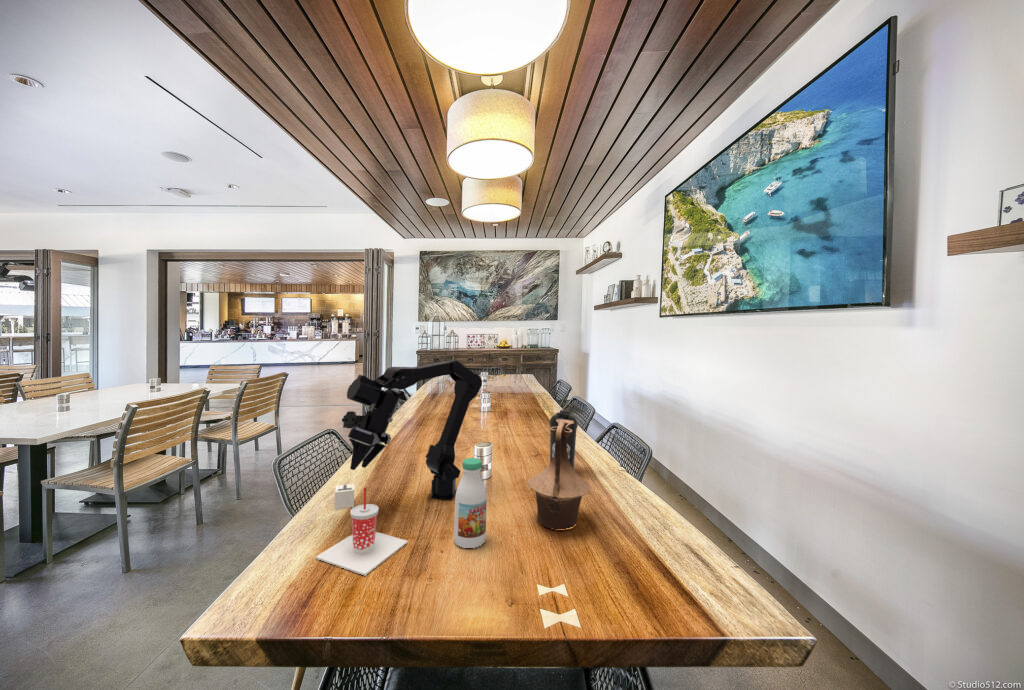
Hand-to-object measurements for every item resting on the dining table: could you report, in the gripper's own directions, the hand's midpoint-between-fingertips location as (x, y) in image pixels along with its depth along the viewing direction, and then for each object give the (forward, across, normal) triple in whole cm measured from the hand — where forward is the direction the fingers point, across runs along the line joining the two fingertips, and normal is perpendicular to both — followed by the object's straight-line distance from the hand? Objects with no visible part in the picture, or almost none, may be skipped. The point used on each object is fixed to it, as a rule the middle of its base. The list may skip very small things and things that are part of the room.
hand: (358, 468), depth 101 cm
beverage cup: (+14, +8, +11) cm, 20 cm away
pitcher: (-4, -5, +55) cm, 55 cm away
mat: (+15, +8, +11) cm, 20 cm away
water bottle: (-15, -39, +59) cm, 72 cm away
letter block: (+13, -14, -3) cm, 20 cm away
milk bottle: (+6, +4, +34) cm, 34 cm away
